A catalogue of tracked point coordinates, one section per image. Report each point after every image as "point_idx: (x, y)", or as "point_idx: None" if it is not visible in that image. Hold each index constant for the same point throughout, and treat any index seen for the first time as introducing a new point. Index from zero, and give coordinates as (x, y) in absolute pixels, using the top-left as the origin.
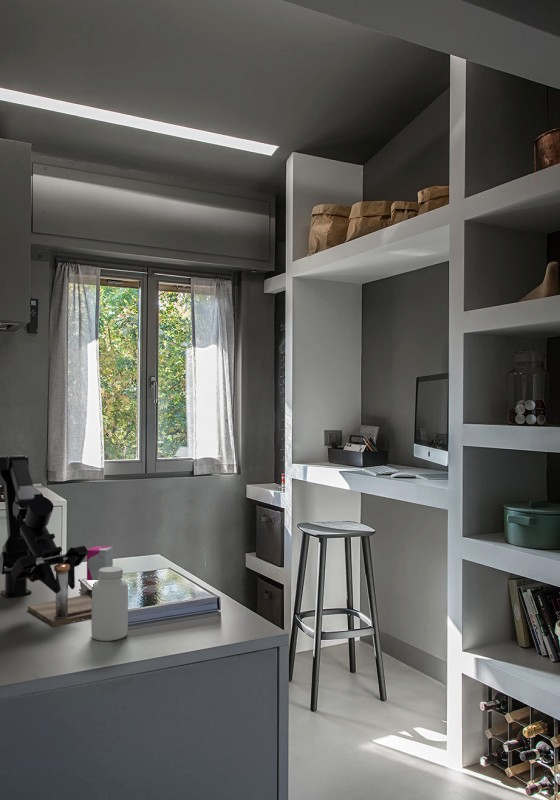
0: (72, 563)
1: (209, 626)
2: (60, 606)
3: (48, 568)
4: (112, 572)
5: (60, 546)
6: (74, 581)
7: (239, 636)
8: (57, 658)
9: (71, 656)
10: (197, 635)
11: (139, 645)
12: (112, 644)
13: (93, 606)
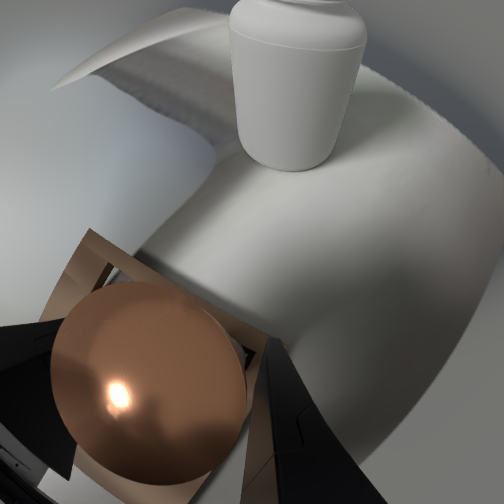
0: (9, 339)
1: (166, 47)
2: (240, 349)
3: (322, 475)
4: None
5: None
6: None
7: (203, 18)
8: (442, 171)
9: (421, 151)
10: (216, 40)
11: None
12: None
13: (353, 86)
